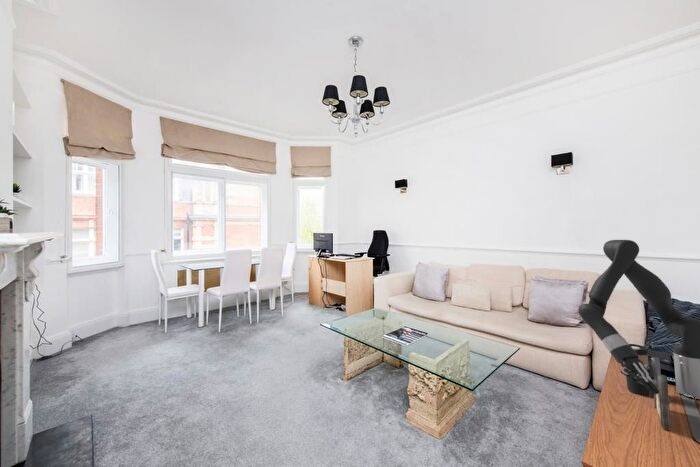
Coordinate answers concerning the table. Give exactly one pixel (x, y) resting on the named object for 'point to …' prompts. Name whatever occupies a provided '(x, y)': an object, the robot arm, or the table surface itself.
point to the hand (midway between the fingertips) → (656, 393)
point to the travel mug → (633, 386)
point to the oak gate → (663, 402)
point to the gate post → (655, 373)
